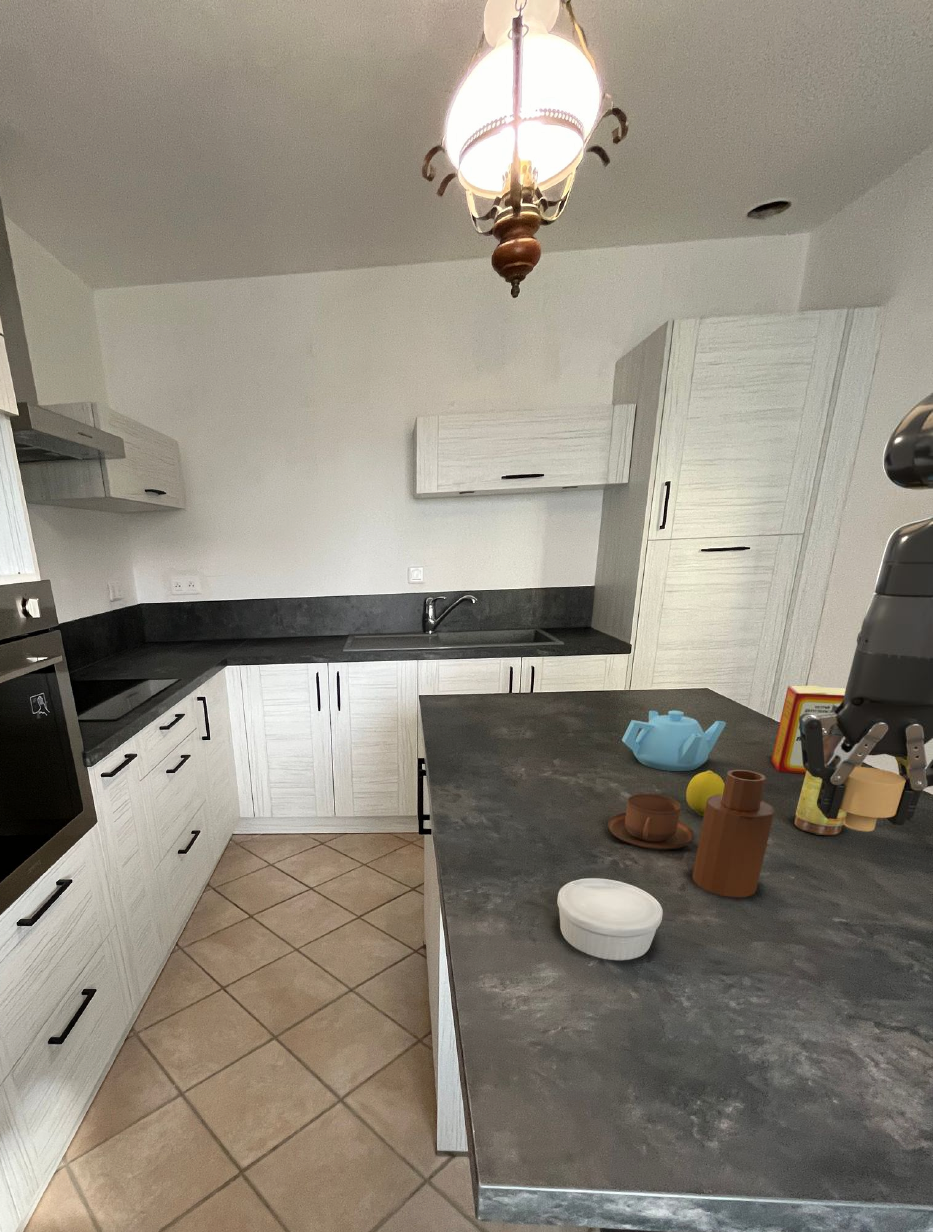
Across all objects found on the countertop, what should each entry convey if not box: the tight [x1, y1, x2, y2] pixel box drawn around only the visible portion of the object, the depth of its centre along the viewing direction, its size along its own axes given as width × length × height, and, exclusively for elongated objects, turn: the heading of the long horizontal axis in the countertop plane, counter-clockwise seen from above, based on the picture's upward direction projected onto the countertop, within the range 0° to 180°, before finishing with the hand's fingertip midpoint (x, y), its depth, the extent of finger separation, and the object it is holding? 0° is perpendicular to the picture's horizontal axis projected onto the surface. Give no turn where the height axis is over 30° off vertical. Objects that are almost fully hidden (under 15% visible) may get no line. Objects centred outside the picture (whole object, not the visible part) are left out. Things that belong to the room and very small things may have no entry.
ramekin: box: [556, 877, 664, 961], centre depth 71 cm, size 11×11×5 cm
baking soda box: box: [770, 685, 846, 775], centre depth 120 cm, size 10×6×16 cm
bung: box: [840, 766, 906, 832], centre depth 61 cm, size 5×5×6 cm
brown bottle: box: [692, 769, 776, 898], centre depth 79 cm, size 7×7×16 cm
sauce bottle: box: [794, 703, 863, 836], centre depth 94 cm, size 6×6×20 cm
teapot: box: [621, 710, 727, 772], centre depth 127 cm, size 15×15×11 cm
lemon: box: [685, 770, 725, 817], centre depth 102 cm, size 6×6×8 cm
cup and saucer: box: [607, 793, 695, 851], centre depth 95 cm, size 12×12×6 cm
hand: (861, 818), depth 62 cm, fingers closed on bung, 4 cm apart
